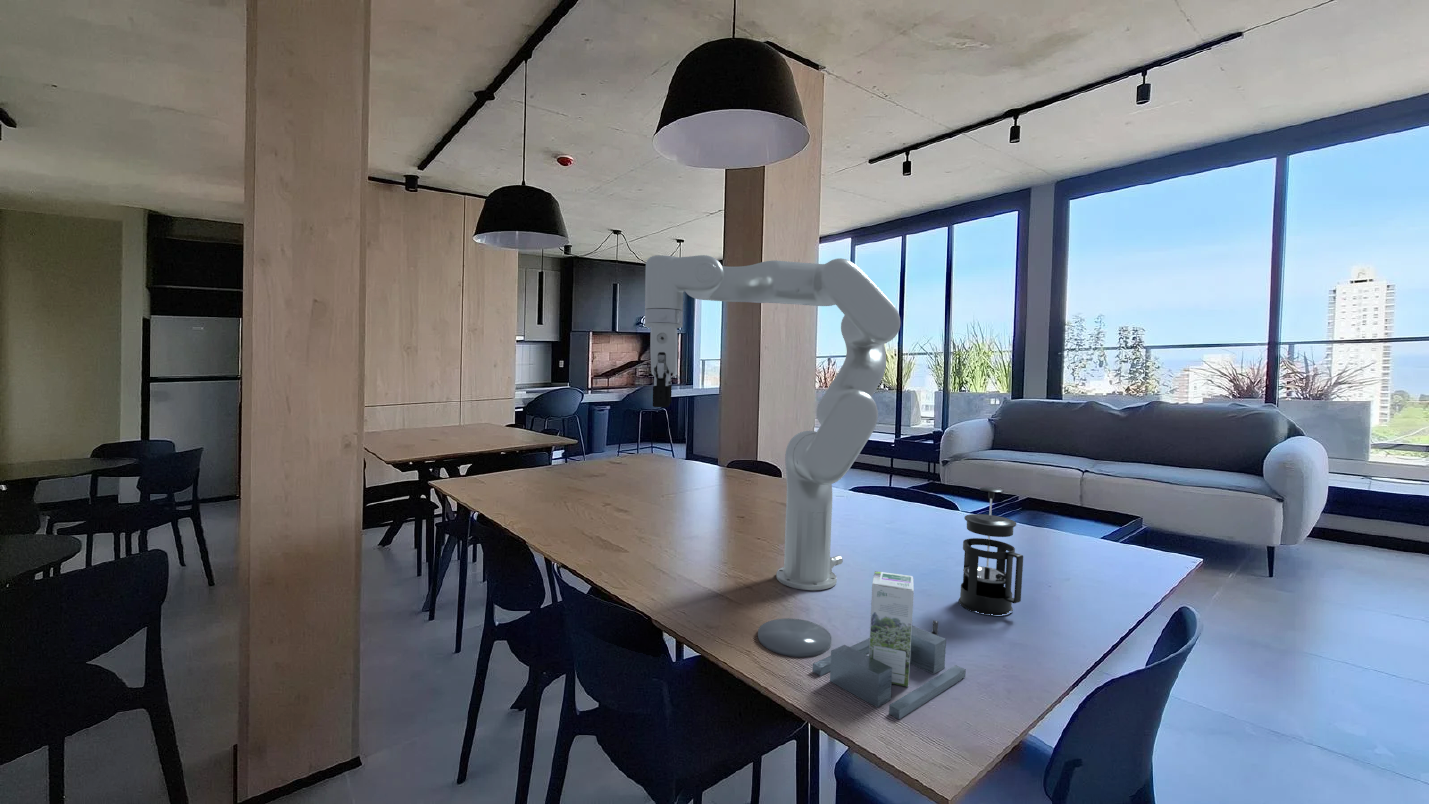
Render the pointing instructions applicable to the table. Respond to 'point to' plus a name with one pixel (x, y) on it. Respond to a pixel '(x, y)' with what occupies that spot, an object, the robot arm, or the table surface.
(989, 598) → the french press
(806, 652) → the coaster
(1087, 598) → the table surface
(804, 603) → the table surface
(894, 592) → the syrup box
